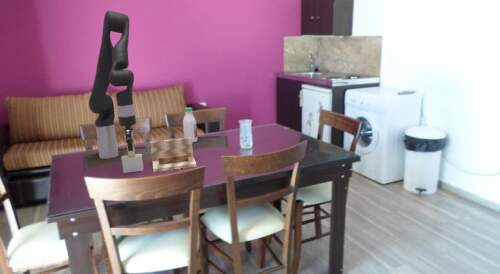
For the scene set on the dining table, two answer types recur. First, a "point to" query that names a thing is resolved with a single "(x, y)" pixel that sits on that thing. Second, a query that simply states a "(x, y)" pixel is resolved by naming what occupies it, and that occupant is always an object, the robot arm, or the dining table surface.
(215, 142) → the dining table surface
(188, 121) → the milk bottle
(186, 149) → the woven pattern crate
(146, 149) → the dining table surface
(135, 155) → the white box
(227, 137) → the dining table surface
